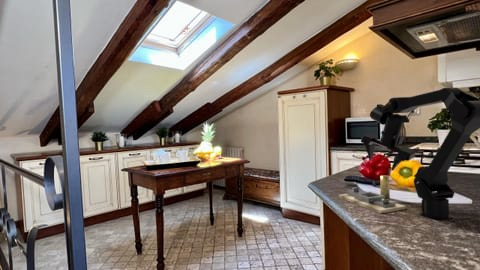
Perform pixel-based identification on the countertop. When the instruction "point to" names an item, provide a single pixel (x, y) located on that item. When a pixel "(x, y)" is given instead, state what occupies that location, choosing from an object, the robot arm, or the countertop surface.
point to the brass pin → (385, 186)
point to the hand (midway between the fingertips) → (381, 164)
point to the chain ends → (370, 197)
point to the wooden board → (372, 206)
